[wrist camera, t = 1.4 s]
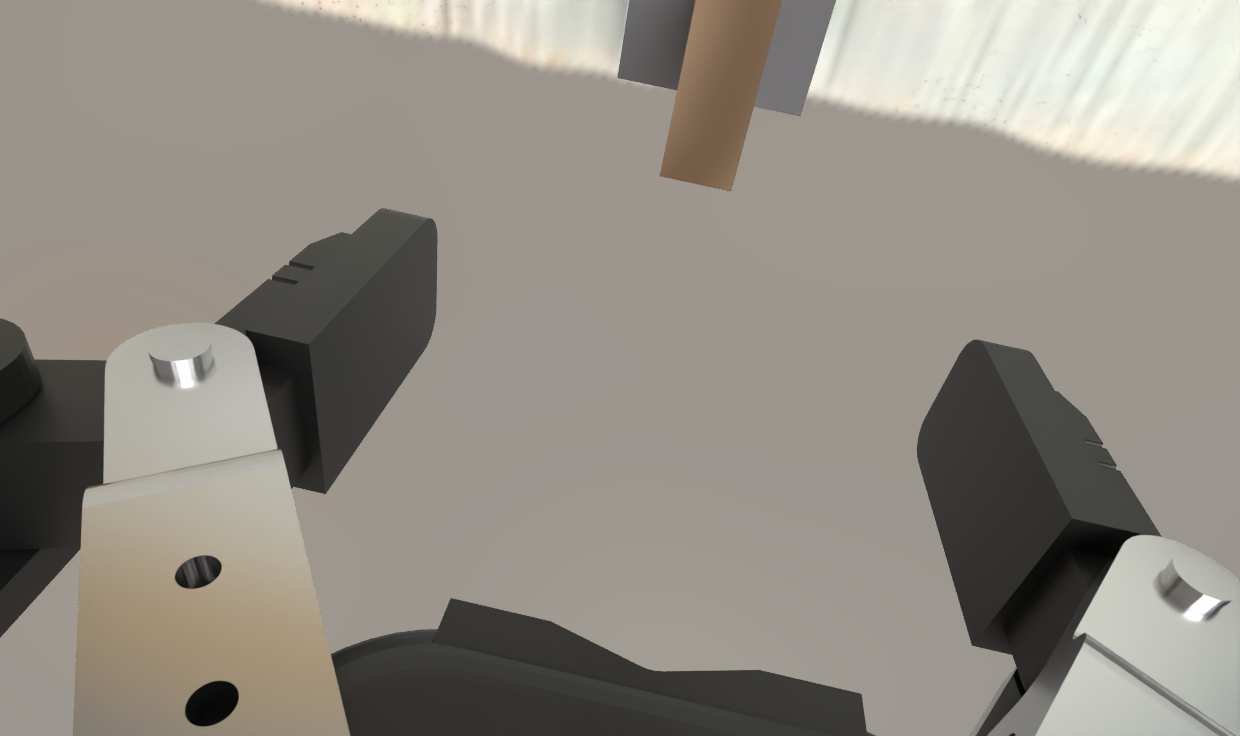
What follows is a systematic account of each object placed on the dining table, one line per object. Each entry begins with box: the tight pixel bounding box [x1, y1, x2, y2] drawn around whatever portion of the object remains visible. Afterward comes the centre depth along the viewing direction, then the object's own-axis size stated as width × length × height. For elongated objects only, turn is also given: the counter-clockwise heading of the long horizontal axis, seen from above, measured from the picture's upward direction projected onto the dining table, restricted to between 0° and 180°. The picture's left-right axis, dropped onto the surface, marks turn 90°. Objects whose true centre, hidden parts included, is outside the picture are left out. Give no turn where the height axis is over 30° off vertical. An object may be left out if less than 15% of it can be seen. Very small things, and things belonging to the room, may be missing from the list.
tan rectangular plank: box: [660, 0, 782, 191], centre depth 29 cm, size 2×6×16 cm, turn 170°
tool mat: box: [618, 0, 836, 116], centre depth 36 cm, size 10×8×1 cm
